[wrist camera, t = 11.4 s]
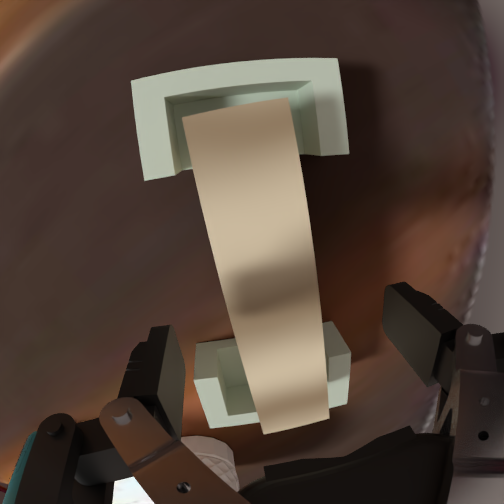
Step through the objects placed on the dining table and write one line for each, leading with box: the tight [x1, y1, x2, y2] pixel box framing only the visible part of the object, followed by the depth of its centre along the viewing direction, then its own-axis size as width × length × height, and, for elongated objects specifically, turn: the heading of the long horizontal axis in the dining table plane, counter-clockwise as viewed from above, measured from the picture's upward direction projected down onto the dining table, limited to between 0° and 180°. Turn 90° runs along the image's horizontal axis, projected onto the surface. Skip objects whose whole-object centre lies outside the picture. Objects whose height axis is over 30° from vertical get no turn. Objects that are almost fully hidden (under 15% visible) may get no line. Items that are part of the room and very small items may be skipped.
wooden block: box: [182, 97, 329, 434], centre depth 16 cm, size 17×4×6 cm, turn 11°
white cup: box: [181, 436, 240, 492], centre depth 22 cm, size 8×8×10 cm
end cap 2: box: [194, 321, 351, 428], centre depth 21 cm, size 5×10×4 cm, turn 97°
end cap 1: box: [131, 58, 349, 181], centre depth 15 cm, size 5×10×4 cm, turn 97°
